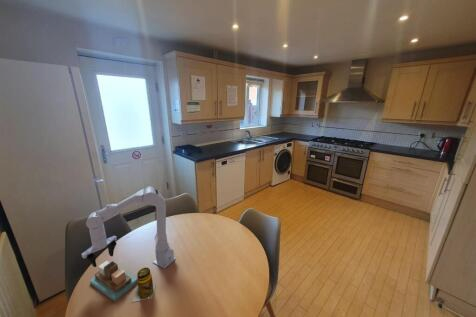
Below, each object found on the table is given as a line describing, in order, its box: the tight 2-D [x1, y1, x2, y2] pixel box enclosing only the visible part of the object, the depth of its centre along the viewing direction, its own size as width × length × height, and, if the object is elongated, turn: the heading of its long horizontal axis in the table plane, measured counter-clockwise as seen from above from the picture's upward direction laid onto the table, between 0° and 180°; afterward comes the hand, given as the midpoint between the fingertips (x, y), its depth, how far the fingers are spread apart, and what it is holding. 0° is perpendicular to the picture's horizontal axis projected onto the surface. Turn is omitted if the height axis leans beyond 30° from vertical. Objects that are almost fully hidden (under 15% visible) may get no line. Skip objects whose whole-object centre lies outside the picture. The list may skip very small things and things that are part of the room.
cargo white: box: [98, 260, 111, 276], centre depth 93 cm, size 4×4×4 cm
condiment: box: [132, 267, 157, 303], centre depth 86 cm, size 7×8×12 cm
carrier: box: [94, 261, 132, 293], centre depth 91 cm, size 18×7×8 cm, turn 63°
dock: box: [89, 267, 138, 303], centre depth 92 cm, size 20×11×2 cm, turn 63°
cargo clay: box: [111, 268, 126, 285], centre depth 89 cm, size 4×4×4 cm
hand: (103, 260), depth 93 cm, fingers open, 7 cm apart
